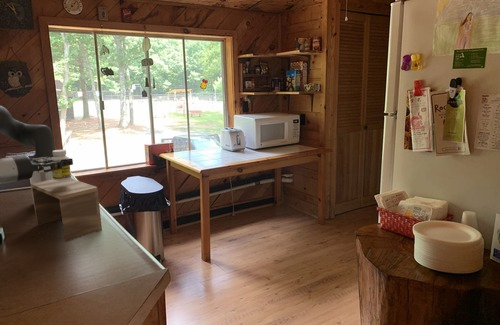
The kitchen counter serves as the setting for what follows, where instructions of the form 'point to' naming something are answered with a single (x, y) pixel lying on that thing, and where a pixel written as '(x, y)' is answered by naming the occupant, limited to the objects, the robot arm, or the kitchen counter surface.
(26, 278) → the kitchen counter surface
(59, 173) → the supplement bottle
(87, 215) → the cubby
